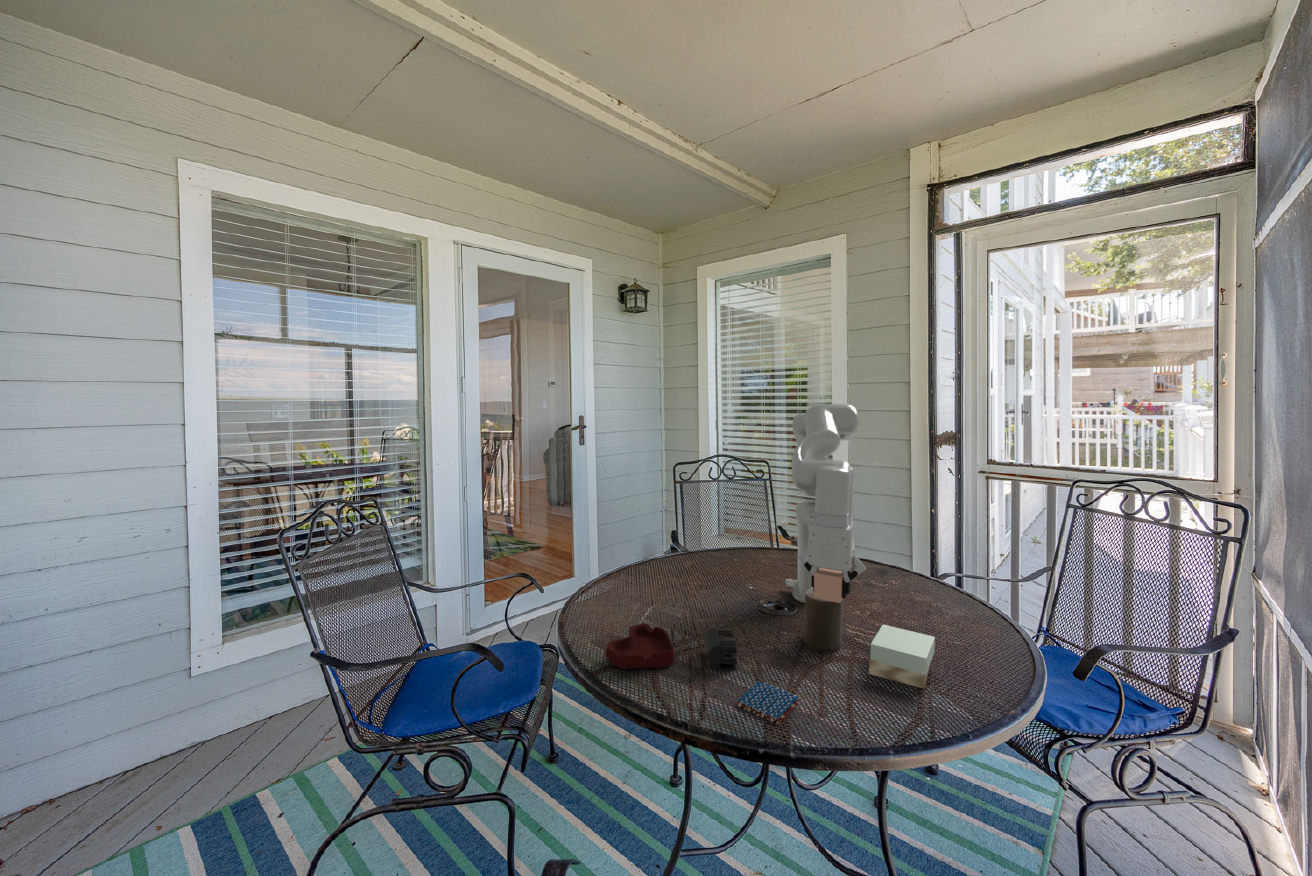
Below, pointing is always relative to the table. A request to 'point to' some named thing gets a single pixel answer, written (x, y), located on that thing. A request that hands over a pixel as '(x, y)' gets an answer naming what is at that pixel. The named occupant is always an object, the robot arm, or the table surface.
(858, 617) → the table surface
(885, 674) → the birch slab
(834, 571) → the terracotta cube
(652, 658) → the ashtray
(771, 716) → the woven mat
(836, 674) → the table surface
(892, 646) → the sage slab
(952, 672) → the table surface
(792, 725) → the table surface
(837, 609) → the pillar candle
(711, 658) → the end cap
